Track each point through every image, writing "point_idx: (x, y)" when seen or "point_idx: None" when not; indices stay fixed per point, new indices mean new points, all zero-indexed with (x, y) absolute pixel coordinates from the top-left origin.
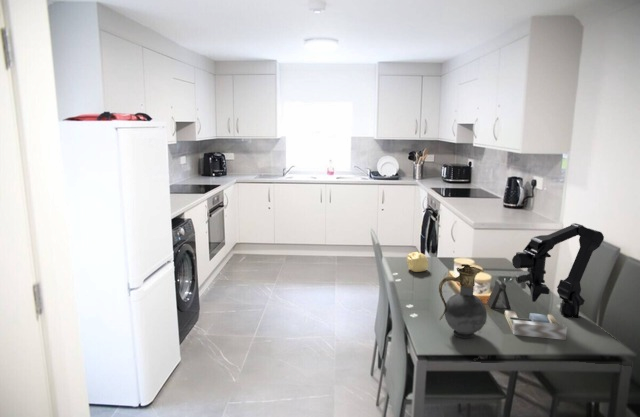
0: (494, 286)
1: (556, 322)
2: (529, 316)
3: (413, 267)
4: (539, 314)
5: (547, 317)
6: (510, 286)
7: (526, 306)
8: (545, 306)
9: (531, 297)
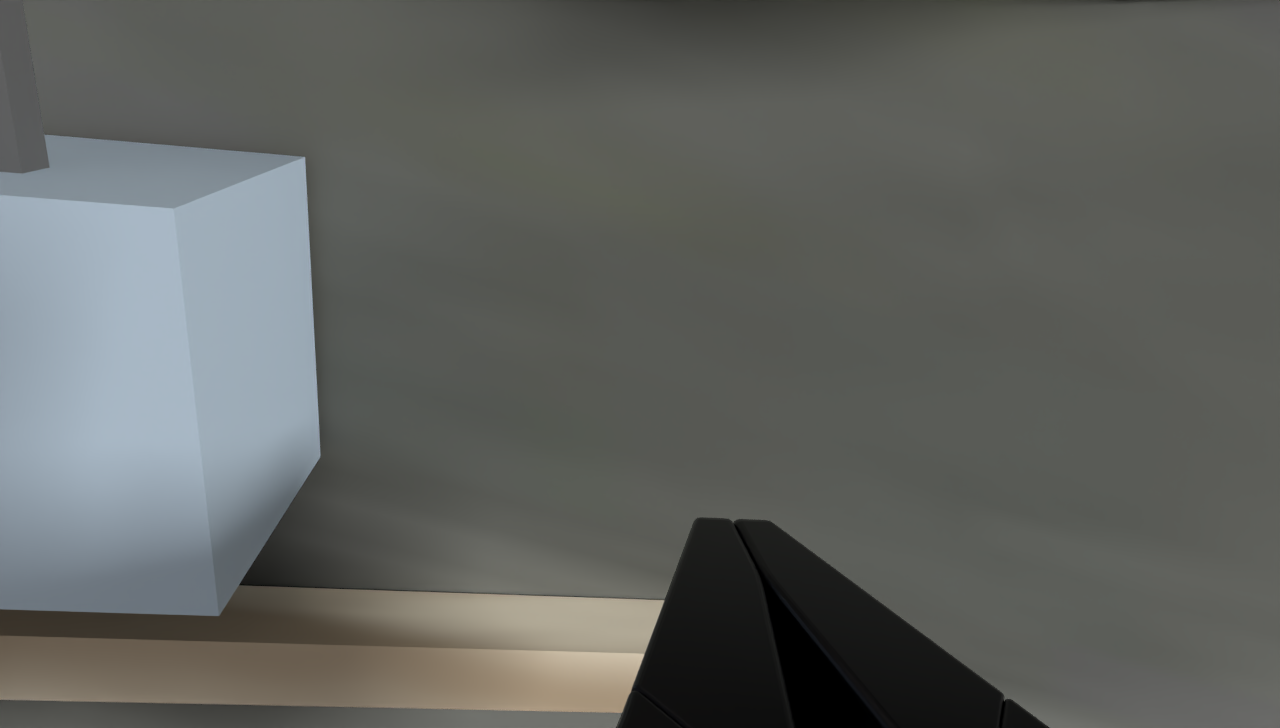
0: None
1: (340, 697)
2: (225, 189)
3: None
4: (159, 469)
5: None
6: None
7: (1233, 398)
8: (1183, 704)
9: (833, 576)
